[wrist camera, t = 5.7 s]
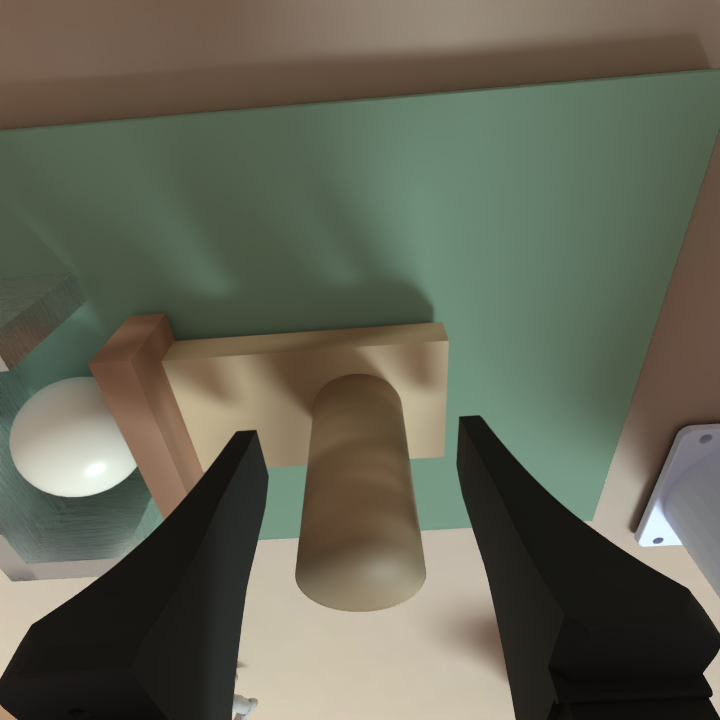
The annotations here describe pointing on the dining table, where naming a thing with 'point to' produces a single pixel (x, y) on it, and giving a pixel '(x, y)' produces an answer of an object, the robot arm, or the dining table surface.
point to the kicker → (296, 434)
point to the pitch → (389, 247)
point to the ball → (70, 440)
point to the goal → (31, 505)
